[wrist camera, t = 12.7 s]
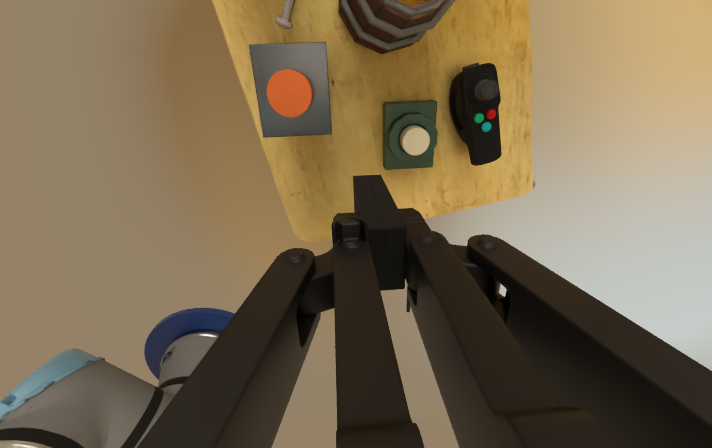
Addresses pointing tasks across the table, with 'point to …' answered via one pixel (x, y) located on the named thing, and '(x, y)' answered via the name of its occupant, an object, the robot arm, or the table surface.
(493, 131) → the controller
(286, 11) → the screw
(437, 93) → the table surface
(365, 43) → the mug
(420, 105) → the switch far
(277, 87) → the button near
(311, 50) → the switch near
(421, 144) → the button far
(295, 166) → the table surface
